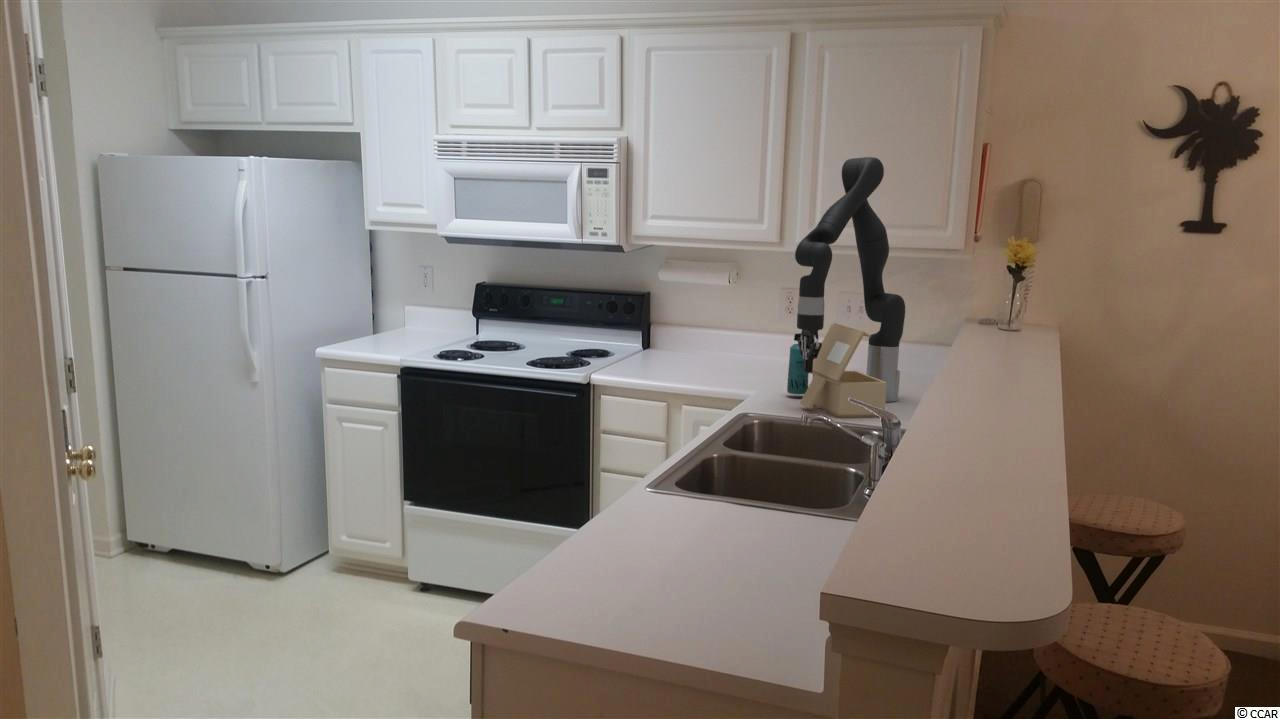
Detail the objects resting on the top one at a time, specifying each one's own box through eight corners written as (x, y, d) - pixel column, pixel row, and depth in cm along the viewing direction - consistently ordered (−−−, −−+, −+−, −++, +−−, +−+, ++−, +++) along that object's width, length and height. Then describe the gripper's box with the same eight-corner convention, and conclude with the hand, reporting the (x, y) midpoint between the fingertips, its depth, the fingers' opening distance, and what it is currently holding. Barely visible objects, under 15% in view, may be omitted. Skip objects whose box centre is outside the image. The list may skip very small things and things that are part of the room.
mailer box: (854, 403, 287) (856, 370, 286) (884, 417, 268) (886, 382, 267) (811, 403, 284) (812, 370, 283) (838, 417, 265) (840, 382, 264)
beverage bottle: (782, 395, 296) (785, 332, 293) (800, 394, 298) (804, 332, 295) (793, 399, 290) (797, 335, 287) (812, 398, 292) (815, 334, 289)
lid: (840, 326, 283) (832, 322, 282) (871, 335, 263) (862, 330, 262) (798, 402, 284) (791, 398, 283) (826, 417, 264) (818, 412, 263)
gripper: (832, 315, 263) (829, 376, 266) (814, 309, 276) (811, 368, 279) (807, 315, 262) (804, 376, 265) (789, 309, 275) (787, 368, 277)
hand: (807, 372), depth 272 cm, fingers closed
